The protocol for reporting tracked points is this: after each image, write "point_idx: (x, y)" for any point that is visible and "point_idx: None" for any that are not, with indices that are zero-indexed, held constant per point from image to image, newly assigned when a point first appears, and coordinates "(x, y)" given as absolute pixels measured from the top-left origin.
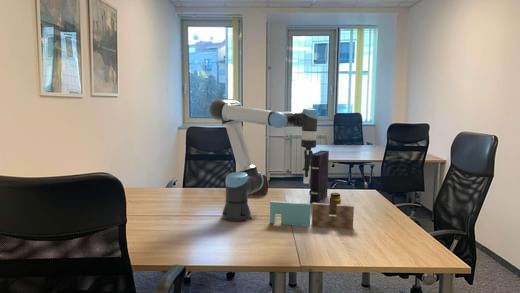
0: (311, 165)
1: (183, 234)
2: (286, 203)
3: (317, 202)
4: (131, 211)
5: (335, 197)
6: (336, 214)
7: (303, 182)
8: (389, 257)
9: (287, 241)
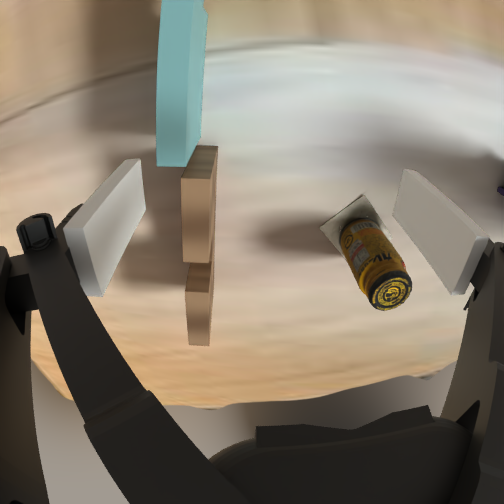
0: (465, 306)
1: None
2: (160, 23)
3: (500, 188)
4: None
5: (367, 286)
6: (190, 266)
7: (123, 163)
8: (35, 327)
9: (9, 93)
